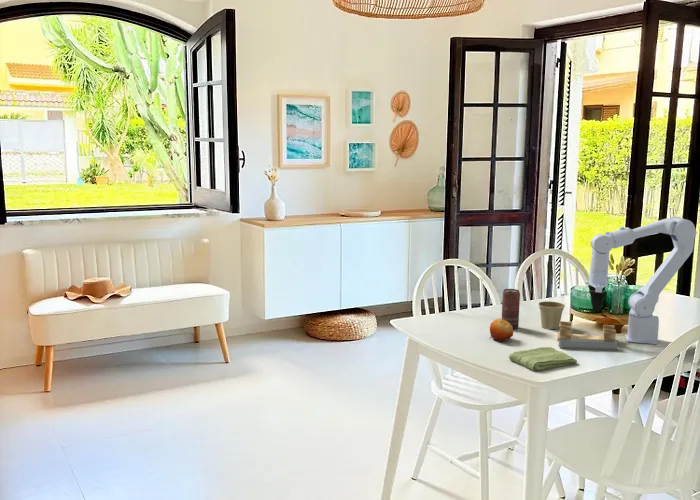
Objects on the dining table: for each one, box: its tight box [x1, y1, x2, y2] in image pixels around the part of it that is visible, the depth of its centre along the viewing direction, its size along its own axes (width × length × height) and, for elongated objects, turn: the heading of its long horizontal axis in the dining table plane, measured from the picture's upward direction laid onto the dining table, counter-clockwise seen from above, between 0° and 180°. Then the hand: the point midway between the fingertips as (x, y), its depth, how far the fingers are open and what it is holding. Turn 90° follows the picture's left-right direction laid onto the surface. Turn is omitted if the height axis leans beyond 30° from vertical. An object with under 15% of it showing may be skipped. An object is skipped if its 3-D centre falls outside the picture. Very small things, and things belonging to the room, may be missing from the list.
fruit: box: [489, 318, 514, 342], centre depth 224 cm, size 8×8×8 cm
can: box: [501, 288, 521, 331], centre depth 237 cm, size 6×6×14 cm
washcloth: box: [508, 346, 578, 372], centre depth 201 cm, size 13×18×3 cm
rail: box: [558, 338, 619, 352], centre depth 214 cm, size 18×3×3 cm, turn 84°
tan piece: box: [556, 320, 618, 342], centre depth 222 cm, size 19×8×5 cm, turn 72°
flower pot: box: [537, 300, 566, 330], centre depth 238 cm, size 9×9×9 cm
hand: (595, 308), depth 224 cm, fingers open, 7 cm apart
